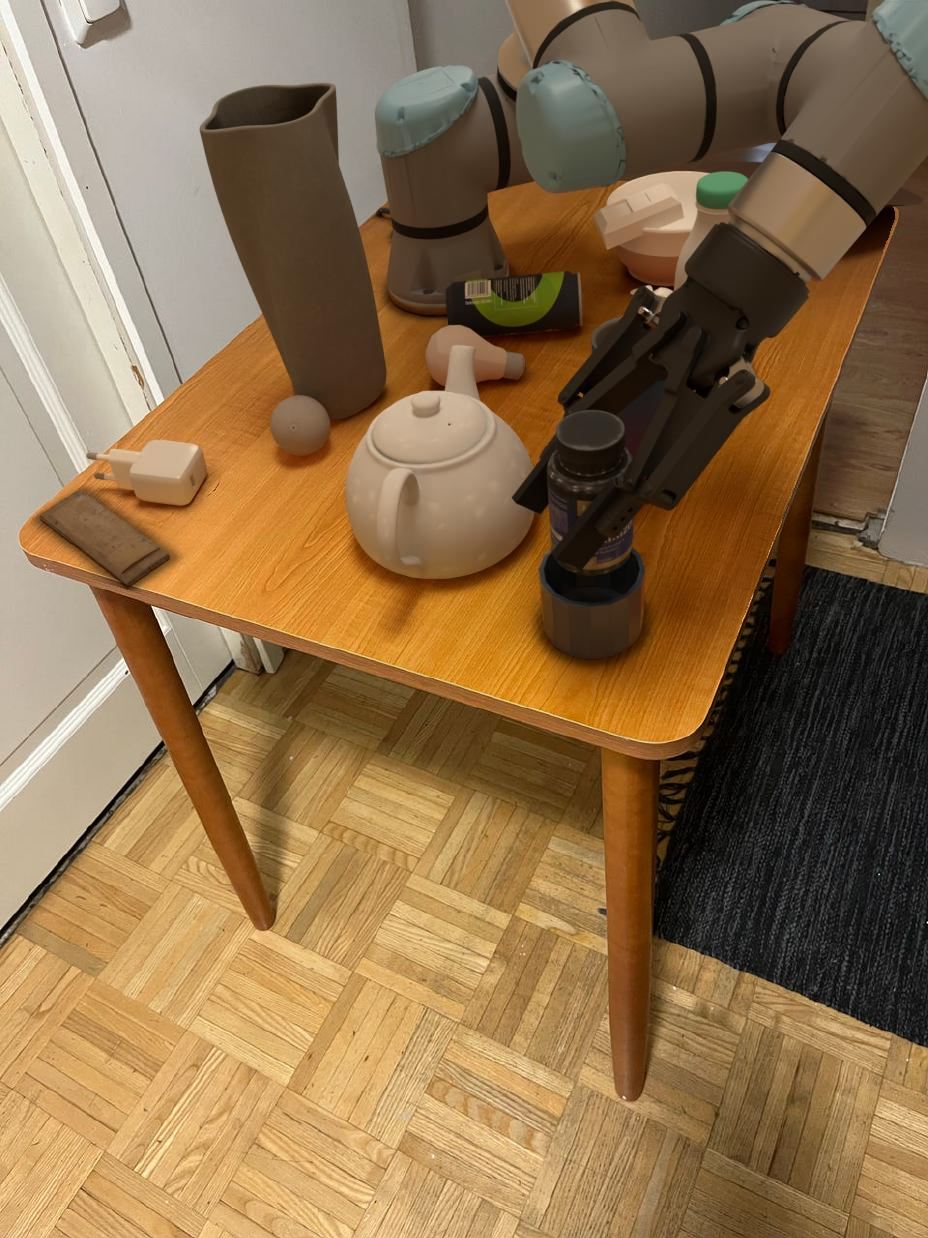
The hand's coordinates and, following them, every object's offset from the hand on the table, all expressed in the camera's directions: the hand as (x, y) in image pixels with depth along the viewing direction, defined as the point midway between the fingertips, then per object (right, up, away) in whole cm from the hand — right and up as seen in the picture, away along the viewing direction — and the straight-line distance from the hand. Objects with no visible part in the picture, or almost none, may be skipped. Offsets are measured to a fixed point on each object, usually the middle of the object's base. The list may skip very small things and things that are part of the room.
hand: (546, 532), depth 68 cm
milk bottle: (+20, +19, +31) cm, 41 cm away
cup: (+10, +7, +21) cm, 24 cm away
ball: (-24, +11, +28) cm, 39 cm away
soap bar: (+14, +39, +40) cm, 57 cm away
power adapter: (-37, +11, +29) cm, 48 cm away
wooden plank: (-39, +4, +24) cm, 46 cm away
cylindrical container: (+5, -7, +9) cm, 12 cm away
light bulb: (-4, +19, +35) cm, 40 cm away
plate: (+36, +47, +51) cm, 78 cm away
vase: (-19, +18, +35) cm, 44 cm away
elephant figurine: (+14, +24, +30) cm, 41 cm away
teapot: (-8, +2, +19) cm, 21 cm away
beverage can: (-8, +29, +40) cm, 50 cm away
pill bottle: (+4, -1, +3) cm, 5 cm away
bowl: (+20, +37, +47) cm, 63 cm away
